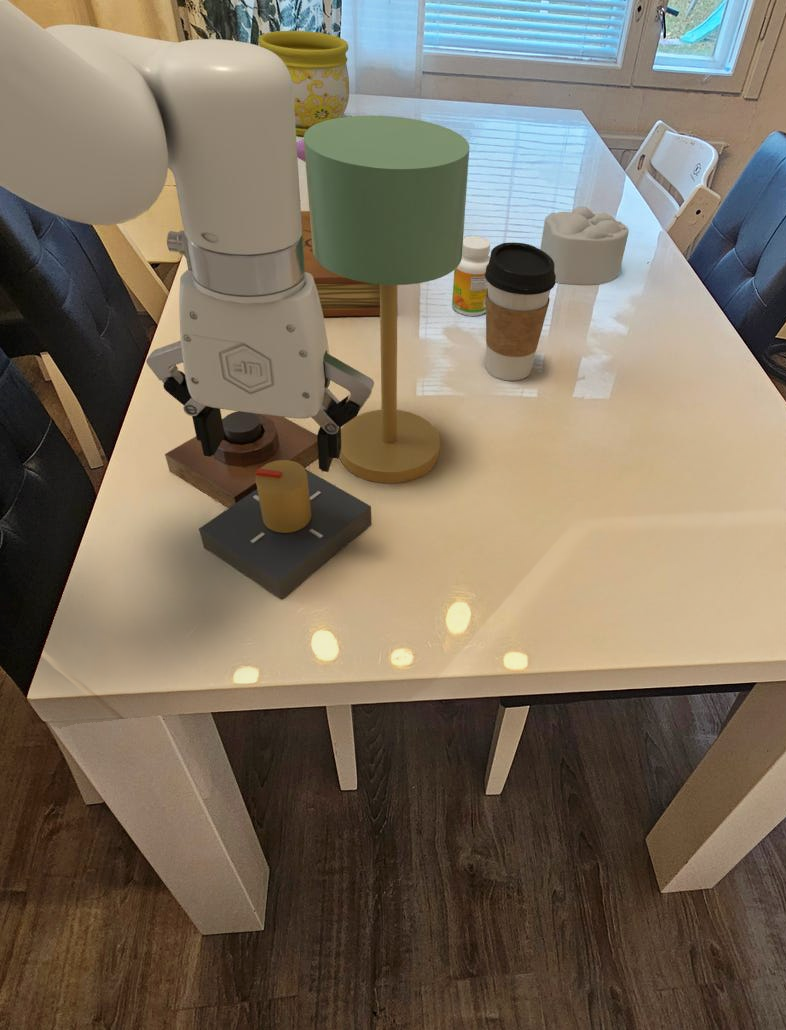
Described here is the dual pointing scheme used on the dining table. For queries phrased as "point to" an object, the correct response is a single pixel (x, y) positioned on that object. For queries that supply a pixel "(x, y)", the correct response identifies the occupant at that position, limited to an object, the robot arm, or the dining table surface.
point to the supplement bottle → (471, 277)
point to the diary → (338, 284)
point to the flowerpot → (313, 74)
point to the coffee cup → (516, 307)
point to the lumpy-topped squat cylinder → (584, 246)
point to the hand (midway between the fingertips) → (271, 453)
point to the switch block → (242, 459)
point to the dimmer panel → (286, 537)
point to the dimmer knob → (284, 496)
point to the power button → (242, 428)
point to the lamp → (387, 253)
